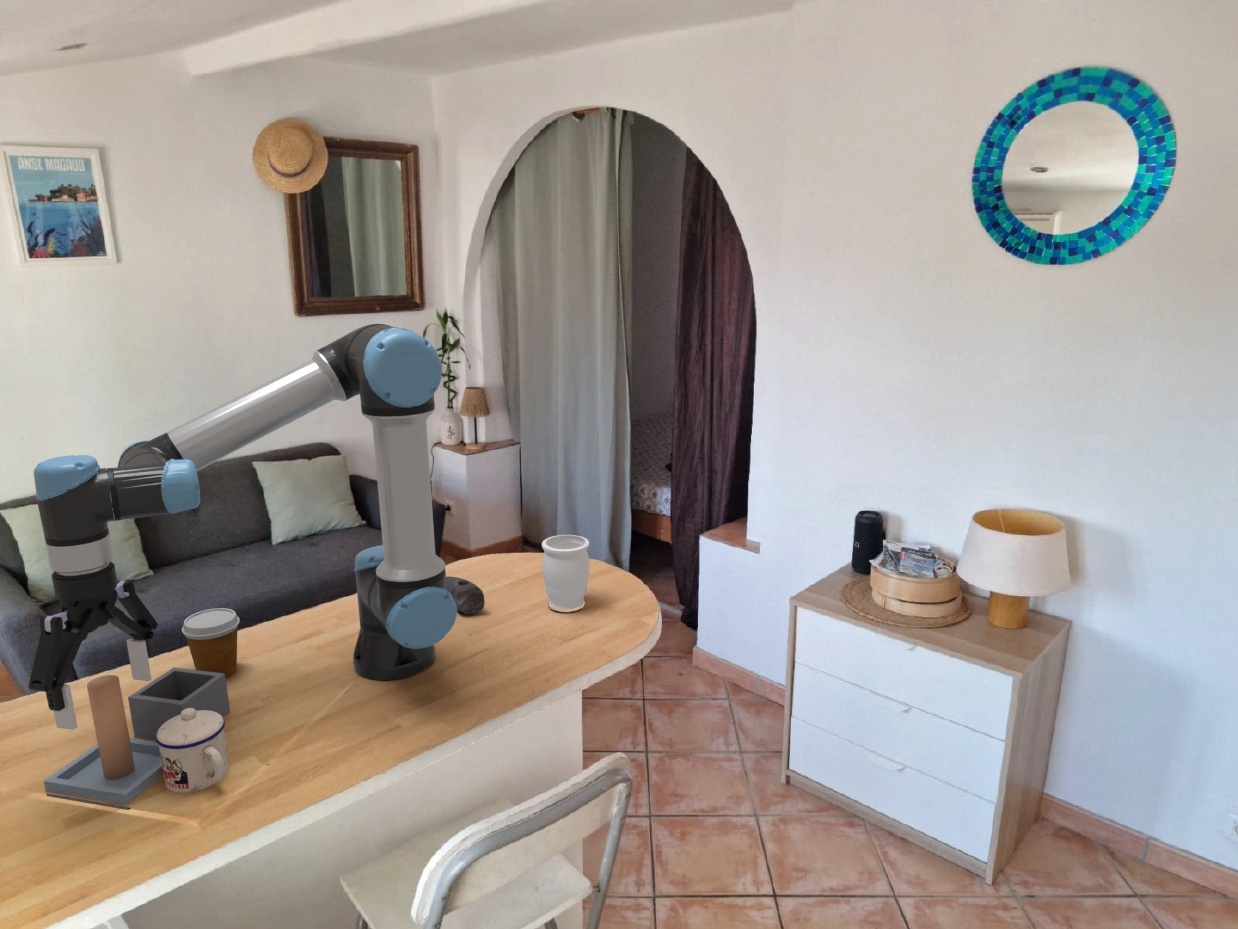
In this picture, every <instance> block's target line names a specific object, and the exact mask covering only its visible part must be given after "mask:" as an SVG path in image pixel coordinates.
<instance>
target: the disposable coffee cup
mask: <svg viewBox="0 0 1238 929" xmlns="http://www.w3.org/2000/svg"><path fill="white" fill-rule="evenodd" d="M240 620H241V619H240V617H239V616H238V615H237V613H236V611H235V610H233V609H232V608H224V607H221V608H220V607H218V608H209V609H204V610H200V611H198V612H195V613H193V614H190V615H189V616H187V617H186V619H184V621H183V625H182V628H181V633H182V634H183V635H184V636H185V638H186V642H187V644H188V647H189V648H188V649H189V651H190V655H191V658H192V662H193V666H194V668H195V670H199V671H207V672H215V673H223V674H225V677H226V679H227V678H229V677H230V678H231V677H232V676H233V675H234V674H235V673H236V672H237V666H238V627H239V624H240Z"/></svg>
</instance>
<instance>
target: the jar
mask: <svg viewBox="0 0 1238 929" xmlns="http://www.w3.org/2000/svg"><path fill="white" fill-rule="evenodd" d="M541 548H542V550H543V551H544V552H543V555H542V564H541V566H542V567H541V568H542V569H541V570H542V576H543V577H542V578H543V582H544V588H545V591H546V594H547V597H548V599H549V600H548V602H549V606H550V607H553V608H556V609H563V610H567V609H573V608H577V607H581V606H582V605H583V603H584V601H585V599H584V598H585V595H586V593H587V591H588V590H587V589H588V583H589V578H590V558H589V557H590V556H589V553H588V549H589V548H590V541H589V540H588V538H586V537H584V536H581V535H575V534H557V535H554V536H553V535H552V536H549V537H547V538H545V539H544V540H543V541H542V542H541Z"/></svg>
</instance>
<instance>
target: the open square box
mask: <svg viewBox="0 0 1238 929" xmlns="http://www.w3.org/2000/svg"><path fill="white" fill-rule="evenodd" d="M127 701H128V705H129V712H130V717H131V723H132V724H131V726H132V729H133V730H132V731H133V736H134V737H136V738H140V739H141V738H142V739H147V740H149V739H150V740H153V741H154V740H155V741H156V735H157V732H158V730H159V728H160V727H161V726H162V725H163V724H164V723H165V722H167V721H168V720H170V719H171V718H173V717H175V716H178V715H180V714H181V712H182V711H183V710H184V709H187V708H194V709H195V710H196V711H197V710H210V711H214V712H217V713H219V714H220V715H221V716H222V717H223V718H224V717H225V716H226V715H227V714H229V713H230V712H231V709H230V701H229V694H228V687H227V678H226V677H225V674H223V673H215V672H207V671H199V670H196V669H191V668H190V669H189V668H182V667H181V668H180V667H172V668H170V669H169V670H167V671H165V673H163V674H161V675H159V676H158V677H157V678H155V679H154V680H152V681H151V682H149V683H148V684H146V685H144V686H143V687H141V688H140V689H139V690H137V691H135V692H133V693H132V694H130V696H128V697H127Z"/></svg>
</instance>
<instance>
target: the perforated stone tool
mask: <svg viewBox="0 0 1238 929" xmlns="http://www.w3.org/2000/svg"><path fill="white" fill-rule="evenodd" d="M446 585H447V591H449V592H450V593H451V594H452V596H453V598H454V601H455V603H456V607H457V612H462V613H463V614H465V615H469V614H470V615H472V614H476V613H477V614H479V612H481V611H482V610H483V609H484V607H485V594H484V591H483V590H482V589H481V588H480V587H479V586H478V585H477V584H475V583H474V582H472V581H470V580H468V579H464V578H460V577H458V576H457V577H456V576H451V575H450V576H446ZM471 613H472V614H471Z"/></svg>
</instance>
